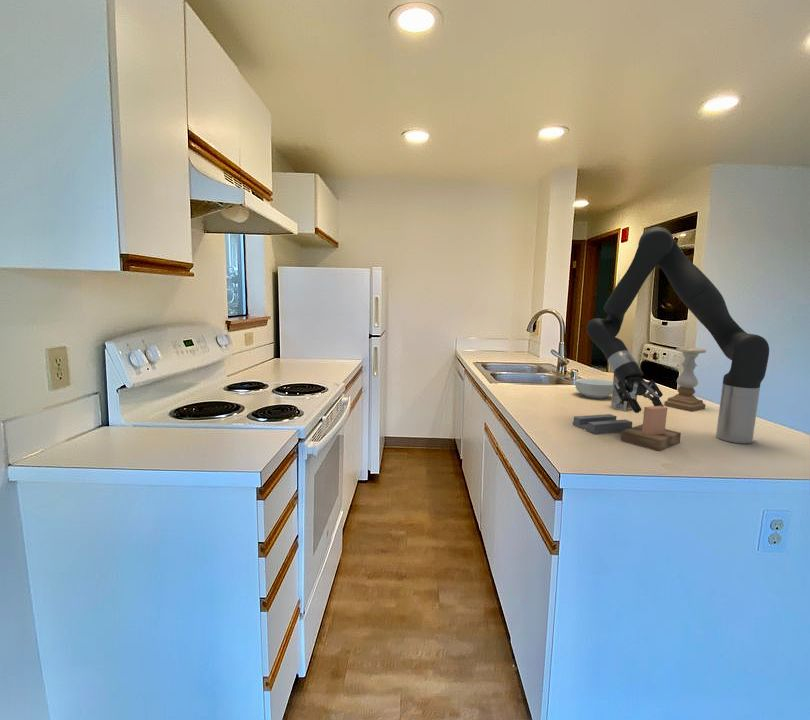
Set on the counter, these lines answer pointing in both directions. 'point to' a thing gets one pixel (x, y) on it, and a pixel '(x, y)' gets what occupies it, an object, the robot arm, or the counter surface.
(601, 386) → the cereal bowl
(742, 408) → the robot arm
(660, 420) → the tile
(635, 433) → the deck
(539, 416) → the counter surface
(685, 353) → the candle holder
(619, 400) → the coffee box
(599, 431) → the rack
